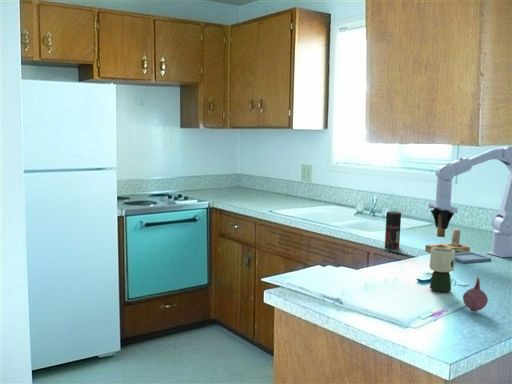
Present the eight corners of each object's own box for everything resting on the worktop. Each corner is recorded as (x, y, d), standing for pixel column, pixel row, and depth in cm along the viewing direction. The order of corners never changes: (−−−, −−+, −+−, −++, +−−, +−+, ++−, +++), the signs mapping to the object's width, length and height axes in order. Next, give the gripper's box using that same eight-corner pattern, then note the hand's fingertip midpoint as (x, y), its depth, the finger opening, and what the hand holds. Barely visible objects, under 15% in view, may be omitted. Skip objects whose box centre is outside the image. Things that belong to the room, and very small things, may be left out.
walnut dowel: (441, 235, 220) (442, 213, 218) (446, 236, 217) (447, 215, 216) (435, 235, 218) (436, 214, 217) (440, 237, 216) (442, 215, 215)
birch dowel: (455, 250, 223) (456, 229, 222) (460, 251, 221) (461, 230, 220) (449, 250, 222) (451, 229, 221) (454, 252, 220) (456, 230, 218)
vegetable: (490, 316, 144) (493, 280, 142) (468, 316, 143) (471, 280, 142) (479, 308, 150) (482, 274, 149) (458, 308, 149) (460, 274, 148)
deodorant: (388, 245, 229) (390, 211, 227) (401, 247, 225) (403, 212, 224) (382, 247, 225) (384, 212, 223) (395, 250, 221) (397, 214, 219)
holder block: (455, 248, 227) (455, 242, 226) (469, 252, 219) (470, 246, 219) (425, 250, 221) (425, 245, 220) (438, 255, 213) (439, 249, 213)
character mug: (454, 297, 160) (457, 254, 158) (429, 294, 161) (432, 252, 160) (450, 286, 170) (452, 246, 169) (426, 284, 172) (429, 245, 170)
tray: (471, 254, 216) (471, 251, 216) (490, 260, 207) (491, 257, 207) (444, 257, 210) (444, 254, 210) (462, 263, 201) (463, 260, 201)
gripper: (423, 193, 221) (421, 225, 222) (448, 197, 207) (446, 231, 209) (437, 192, 223) (435, 224, 225) (462, 197, 210) (460, 230, 212)
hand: (441, 228), depth 217 cm, fingers closed on walnut dowel, 3 cm apart
